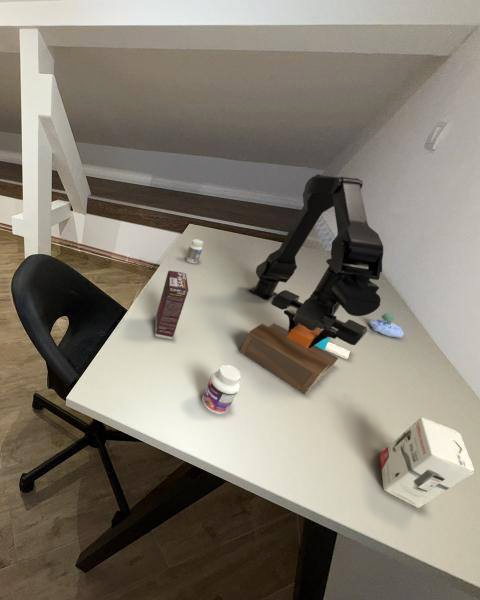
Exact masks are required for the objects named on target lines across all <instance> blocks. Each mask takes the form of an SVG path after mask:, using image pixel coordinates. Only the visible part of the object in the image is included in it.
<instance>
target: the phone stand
mask: <svg viewBox="0 0 480 600" xmlns="http://www.w3.org/2000/svg"><path fill="white" fill-rule="evenodd" d="M319 329H320V328H319ZM321 330H323V329H321ZM330 338H331V337H328V338H326V339H323V340H321V341H320V342H318V343H317V344H315V346H317V347H319V348H321V349H323V350H325V351H326V352H328V353H330V354H332V355H334V356H337V357H340V358H342V359H344V360H348V359H349V356H350V354H351V350H348V349H347V348H344V347H342V346H339V345H337V344H335V343H332V342H330Z"/></svg>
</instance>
